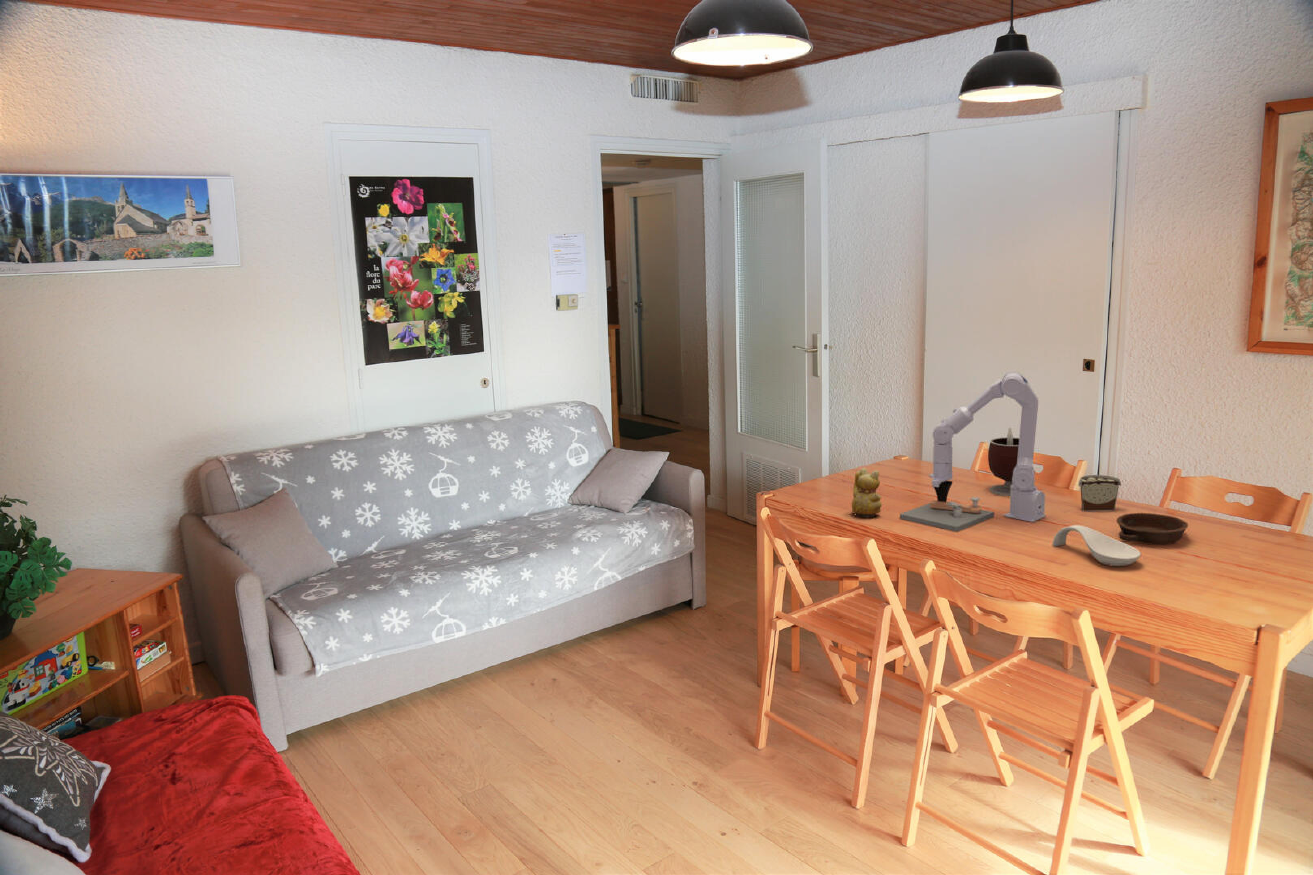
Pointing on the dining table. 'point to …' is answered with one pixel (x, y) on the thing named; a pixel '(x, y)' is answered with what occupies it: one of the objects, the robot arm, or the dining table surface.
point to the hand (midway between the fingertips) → (941, 503)
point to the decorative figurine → (866, 493)
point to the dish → (1151, 528)
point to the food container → (1099, 492)
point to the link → (965, 507)
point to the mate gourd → (1003, 461)
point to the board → (945, 517)
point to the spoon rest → (1101, 546)
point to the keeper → (956, 509)
